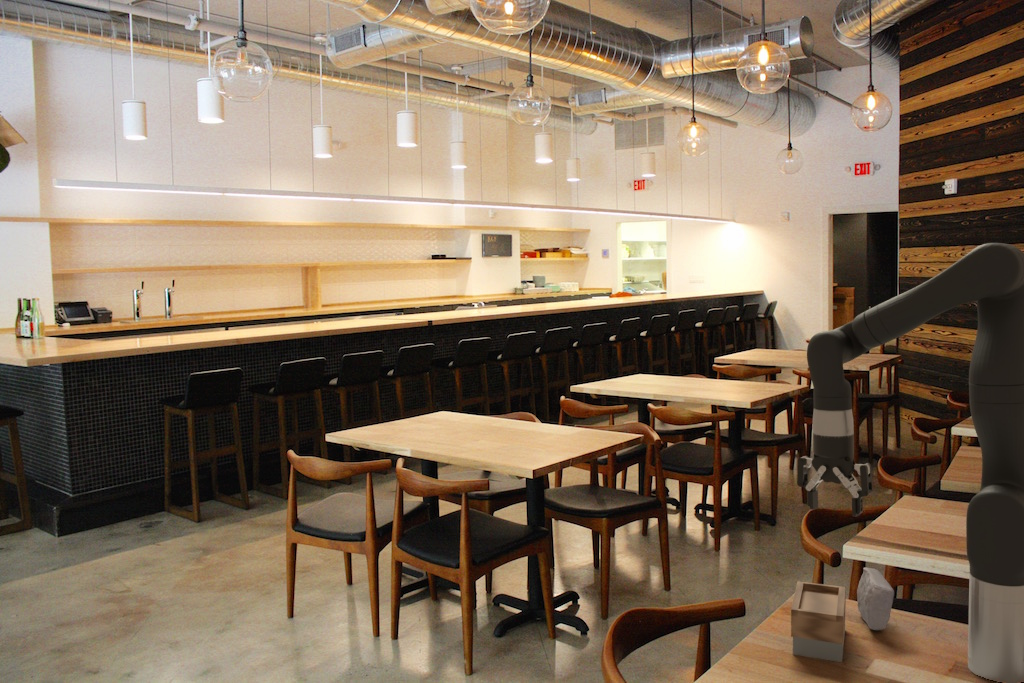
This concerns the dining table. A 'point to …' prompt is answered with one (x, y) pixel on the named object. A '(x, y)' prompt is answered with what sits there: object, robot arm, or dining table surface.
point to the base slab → (818, 649)
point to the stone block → (874, 599)
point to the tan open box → (818, 612)
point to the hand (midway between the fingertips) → (834, 512)
